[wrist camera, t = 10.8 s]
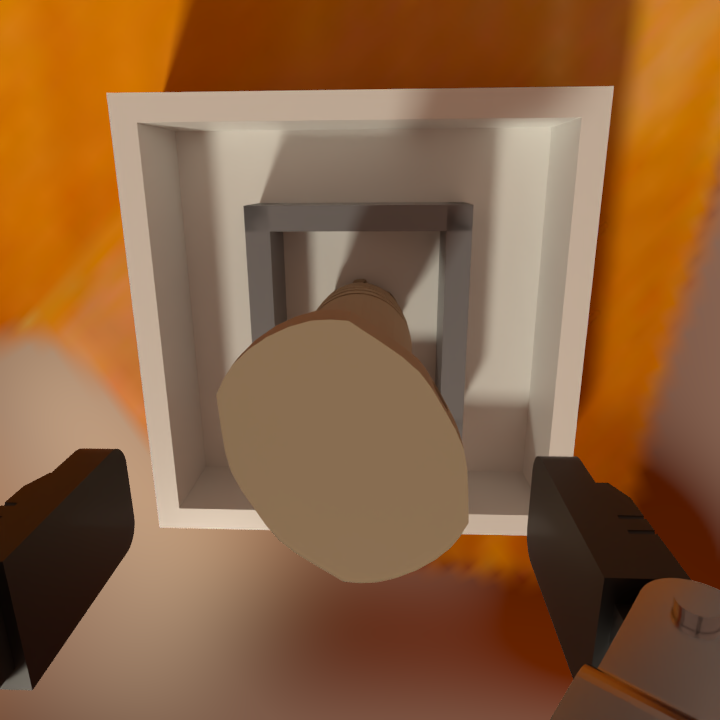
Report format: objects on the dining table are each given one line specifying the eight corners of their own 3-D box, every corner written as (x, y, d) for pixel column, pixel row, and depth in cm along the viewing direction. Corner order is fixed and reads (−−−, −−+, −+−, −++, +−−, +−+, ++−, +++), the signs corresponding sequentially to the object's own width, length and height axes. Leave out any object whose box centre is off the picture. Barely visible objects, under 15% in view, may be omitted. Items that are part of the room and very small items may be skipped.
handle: (373, 224, 26) (369, 279, 12) (441, 345, 27) (510, 526, 13) (281, 278, 27) (171, 391, 12) (352, 393, 28) (326, 611, 14)
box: (158, 109, 26) (106, 92, 21) (571, 104, 25) (614, 85, 20) (194, 474, 31) (159, 527, 26) (536, 480, 30) (564, 536, 26)
